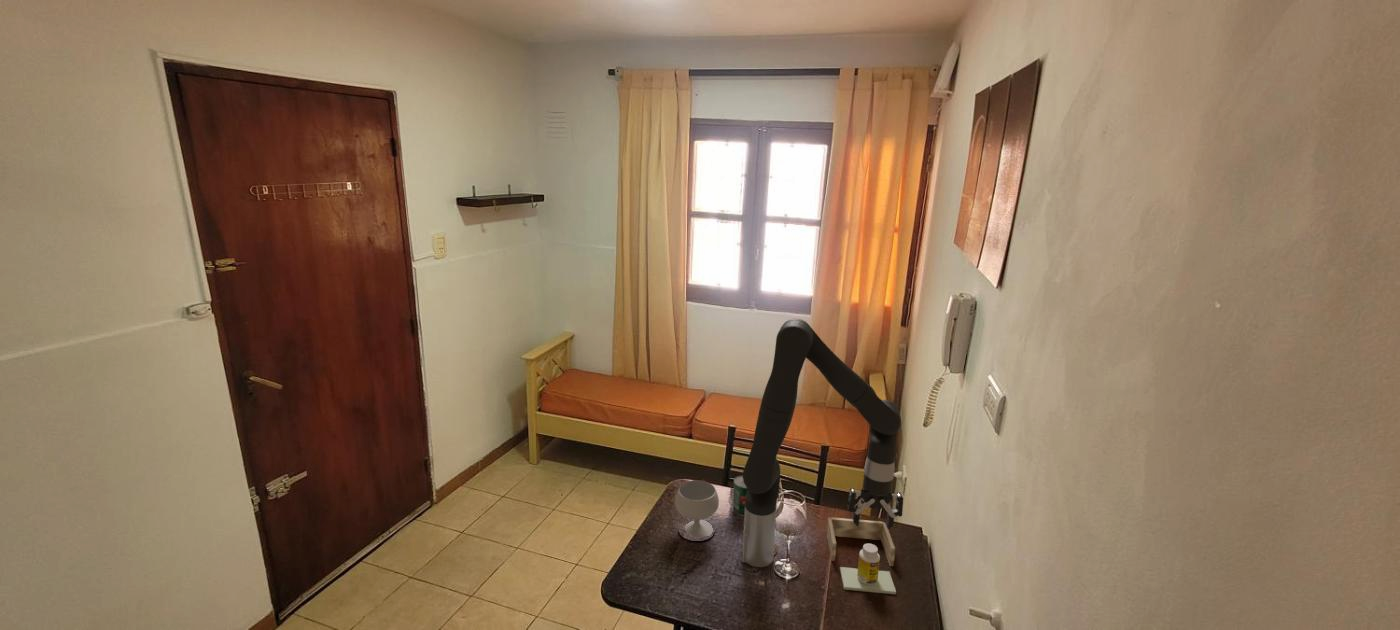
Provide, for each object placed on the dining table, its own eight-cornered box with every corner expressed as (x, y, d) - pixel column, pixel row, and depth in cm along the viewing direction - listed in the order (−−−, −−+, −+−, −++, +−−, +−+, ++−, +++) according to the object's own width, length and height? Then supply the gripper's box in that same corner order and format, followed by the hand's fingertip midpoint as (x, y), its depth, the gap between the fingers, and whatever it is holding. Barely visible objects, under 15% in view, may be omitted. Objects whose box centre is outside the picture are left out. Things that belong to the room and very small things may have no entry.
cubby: (831, 560, 157) (832, 543, 156) (826, 533, 170) (827, 517, 169) (893, 566, 155) (895, 548, 154) (883, 538, 168) (885, 521, 167)
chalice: (718, 545, 163) (719, 502, 160) (673, 544, 163) (673, 501, 160) (717, 518, 177) (718, 478, 174) (676, 517, 177) (676, 477, 174)
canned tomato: (740, 500, 187) (741, 472, 185) (759, 508, 183) (761, 480, 180) (728, 511, 181) (729, 482, 179) (748, 519, 177) (749, 490, 174)
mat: (844, 589, 146) (844, 586, 146) (839, 569, 154) (840, 566, 154) (895, 594, 144) (896, 591, 144) (889, 573, 152) (889, 571, 152)
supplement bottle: (868, 588, 145) (871, 557, 143) (853, 576, 150) (855, 545, 147) (881, 581, 148) (885, 549, 146) (866, 569, 153) (869, 538, 150)
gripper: (854, 478, 138) (848, 531, 142) (909, 483, 137) (902, 537, 141) (849, 463, 146) (844, 515, 149) (902, 468, 144) (895, 520, 148)
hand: (872, 525), depth 145 cm, fingers open, 8 cm apart
